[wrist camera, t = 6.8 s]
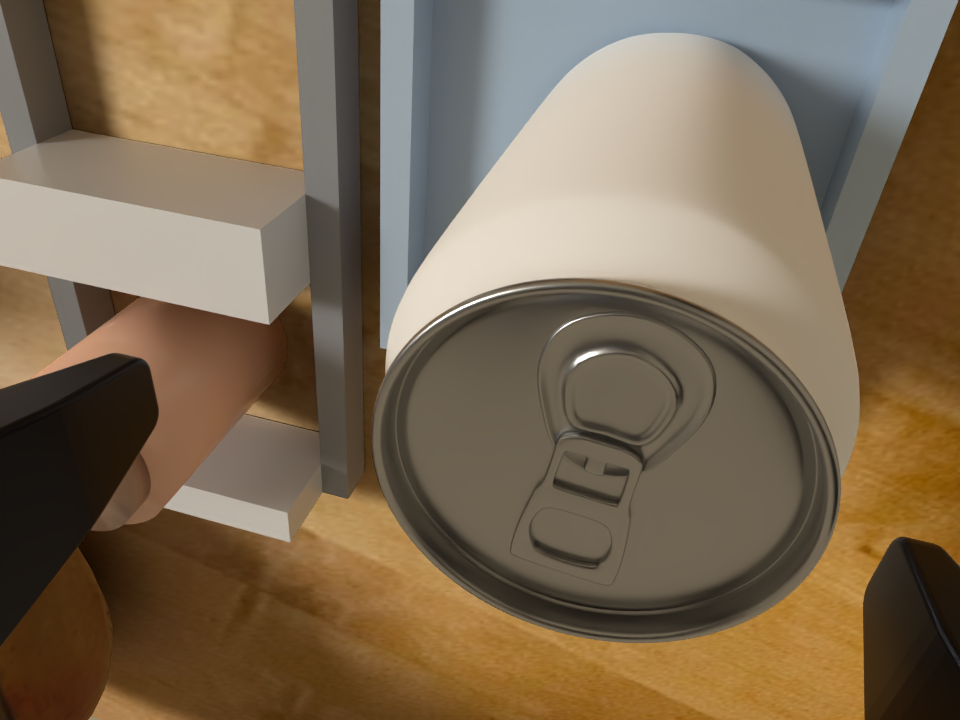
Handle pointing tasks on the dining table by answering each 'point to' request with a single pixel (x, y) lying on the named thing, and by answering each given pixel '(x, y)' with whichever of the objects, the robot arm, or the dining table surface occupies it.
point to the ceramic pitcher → (58, 650)
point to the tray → (598, 23)
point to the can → (628, 358)
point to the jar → (182, 391)
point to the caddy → (205, 249)
